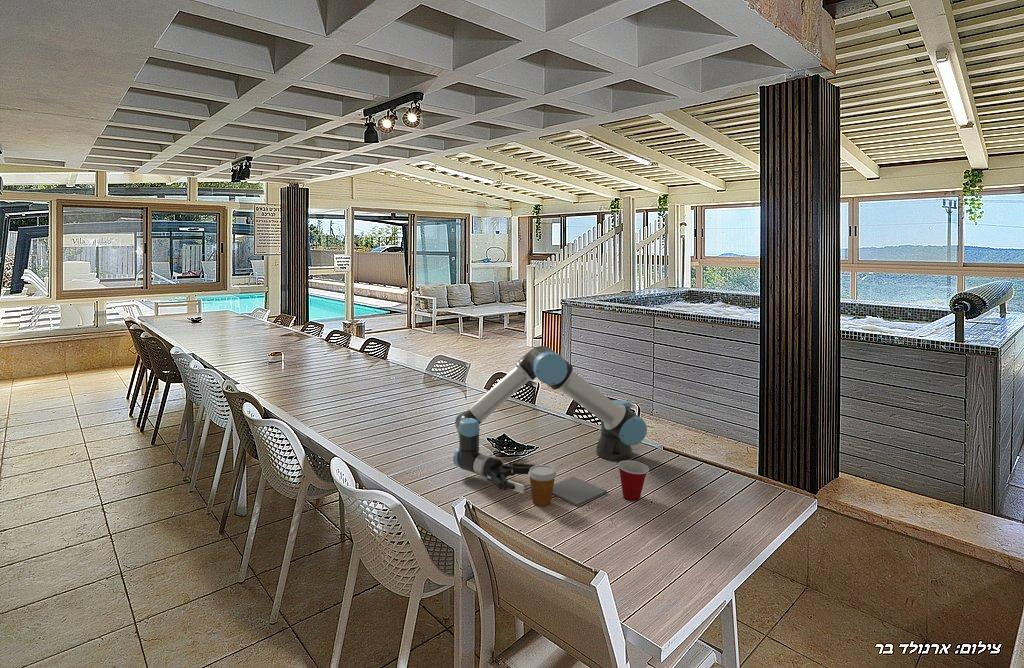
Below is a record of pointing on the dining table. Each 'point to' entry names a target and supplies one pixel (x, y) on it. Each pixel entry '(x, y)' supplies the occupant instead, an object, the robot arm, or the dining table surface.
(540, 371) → the robot arm
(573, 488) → the slate board
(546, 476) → the disposable coffee cup
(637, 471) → the plastic cup
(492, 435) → the dining table surface
